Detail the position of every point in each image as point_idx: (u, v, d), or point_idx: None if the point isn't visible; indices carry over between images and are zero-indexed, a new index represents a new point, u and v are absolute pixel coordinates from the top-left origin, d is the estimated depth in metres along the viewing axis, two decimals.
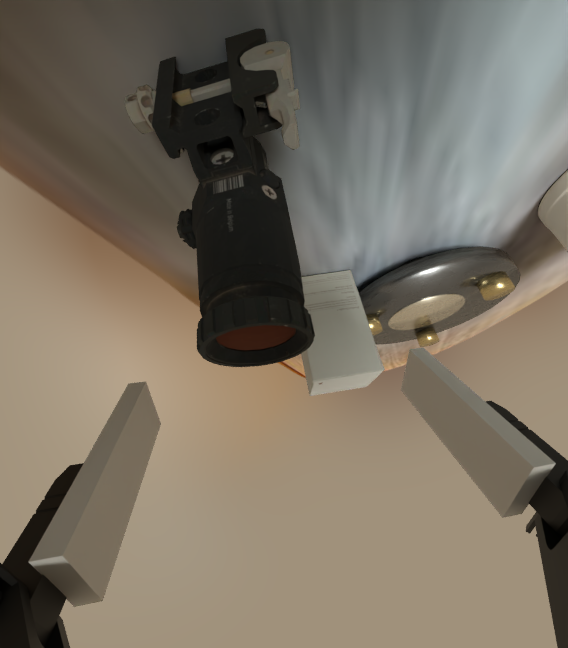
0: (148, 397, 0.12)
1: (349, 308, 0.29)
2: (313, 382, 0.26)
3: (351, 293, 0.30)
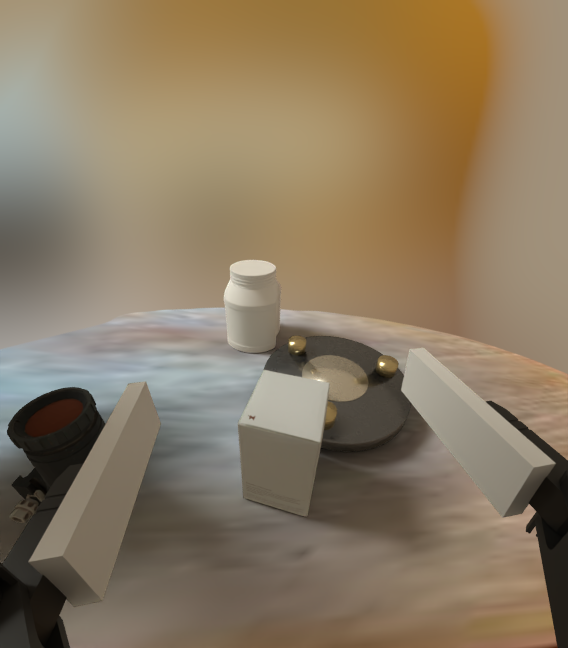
0: (148, 397, 0.12)
1: None
2: (243, 423, 0.22)
3: None
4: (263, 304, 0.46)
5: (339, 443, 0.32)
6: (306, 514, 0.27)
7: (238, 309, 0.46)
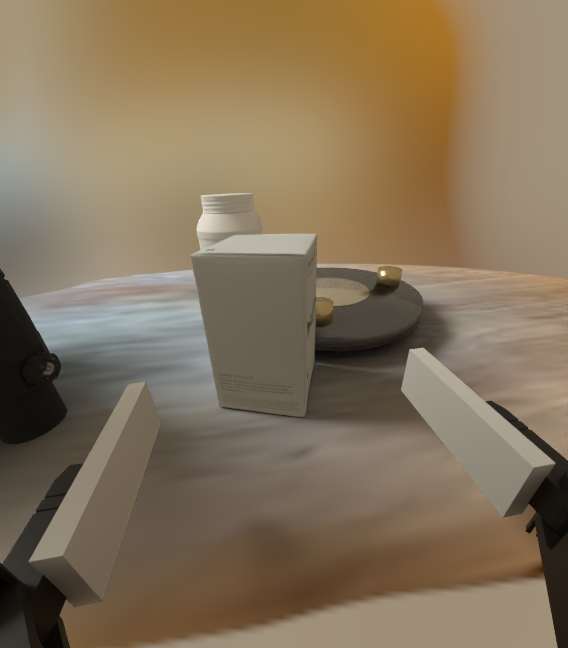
0: (148, 397, 0.12)
1: None
2: (197, 254, 0.16)
3: None
4: (240, 229, 0.40)
5: (339, 337, 0.25)
6: (303, 412, 0.20)
7: (212, 238, 0.40)
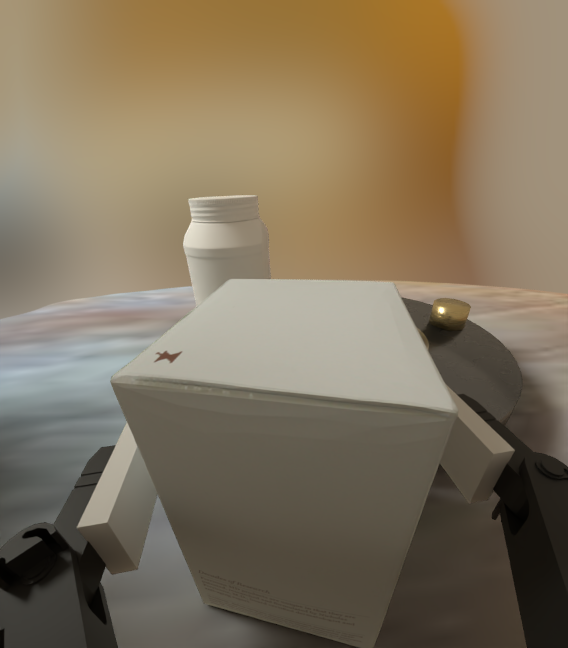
0: None
1: None
2: (128, 377, 0.06)
3: None
4: (241, 244, 0.30)
5: None
6: (371, 645, 0.10)
7: (204, 256, 0.30)
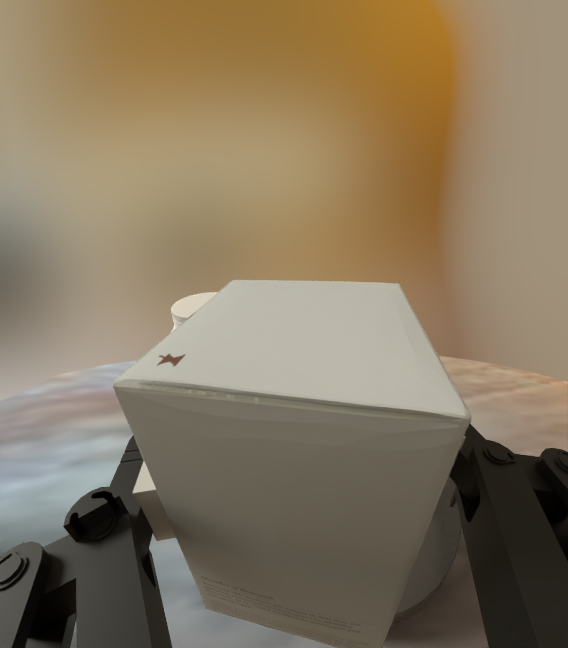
0: None
1: None
2: (130, 381, 0.06)
3: None
4: None
5: None
6: None
7: None
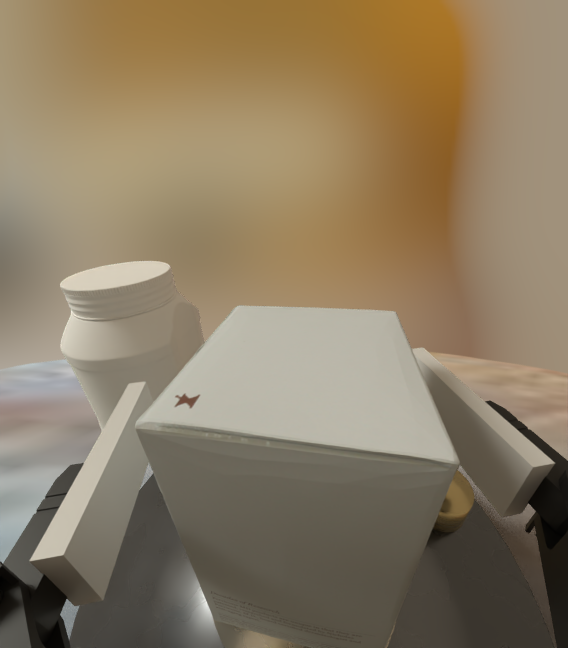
0: (148, 397, 0.12)
1: None
2: (151, 423, 0.06)
3: None
4: (133, 351, 0.20)
5: None
6: None
7: (81, 367, 0.21)
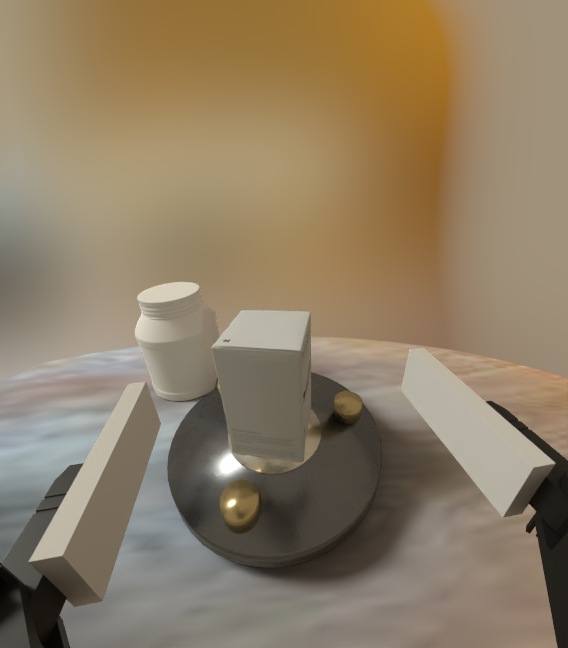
0: (148, 397, 0.12)
1: None
2: (216, 346, 0.21)
3: None
4: (181, 337, 0.35)
5: (261, 557, 0.19)
6: (302, 458, 0.25)
7: (150, 347, 0.35)
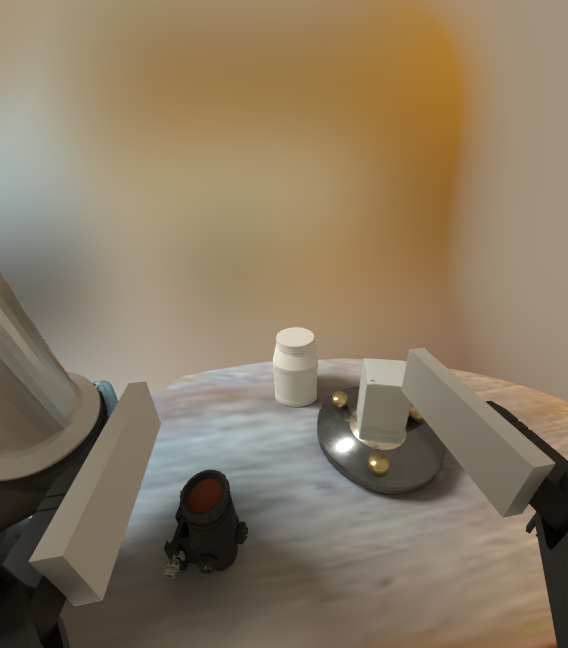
0: (148, 397, 0.12)
1: (359, 395, 0.49)
2: (369, 384, 0.41)
3: (358, 400, 0.51)
4: (308, 367, 0.55)
5: (394, 487, 0.40)
6: (401, 442, 0.45)
7: (287, 373, 0.56)
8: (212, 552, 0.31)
